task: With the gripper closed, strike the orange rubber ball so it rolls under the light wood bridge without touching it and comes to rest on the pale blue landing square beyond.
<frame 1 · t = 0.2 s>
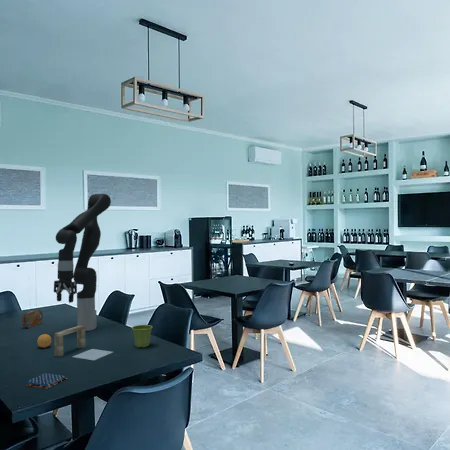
hand: (64, 301, 212), 17 cm above the table, tool pointing down, fingers open, 8 cm apart
woven mat: (46, 384, 149), on the table
bridge: (70, 351, 186), on the table
ball: (44, 340, 192), on the table
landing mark: (93, 354, 180), on the table
plant pot: (142, 346, 192), on the table
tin: (32, 326, 235), on the table
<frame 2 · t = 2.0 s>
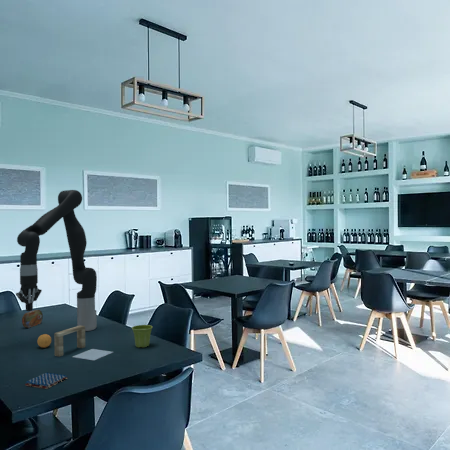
hand: (29, 311, 196), 16 cm above the table, tool pointing down, fingers closed
nothing on the table moved.
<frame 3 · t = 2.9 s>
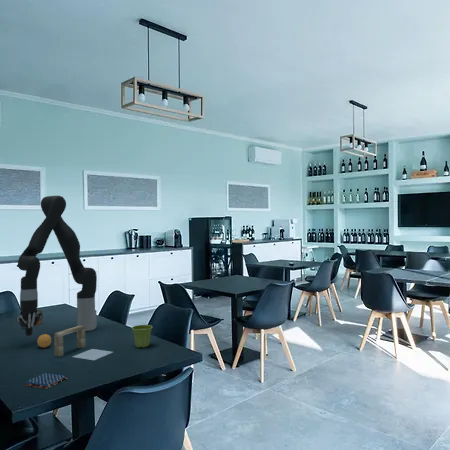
hand: (28, 335, 196), 5 cm above the table, tool pointing down, fingers closed
nothing on the table moved.
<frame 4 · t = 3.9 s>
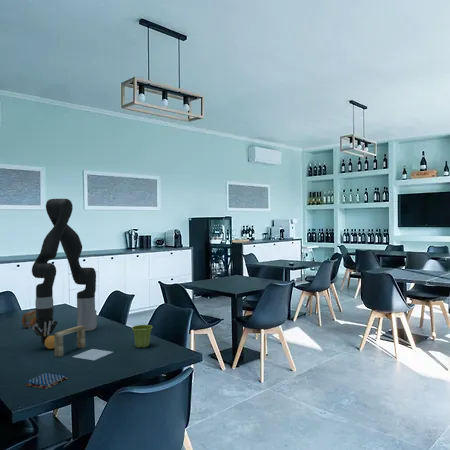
hand: (44, 344, 192), 2 cm above the table, tool pointing down, fingers closed
ball: (51, 342, 190), on the table
everything else where it was.
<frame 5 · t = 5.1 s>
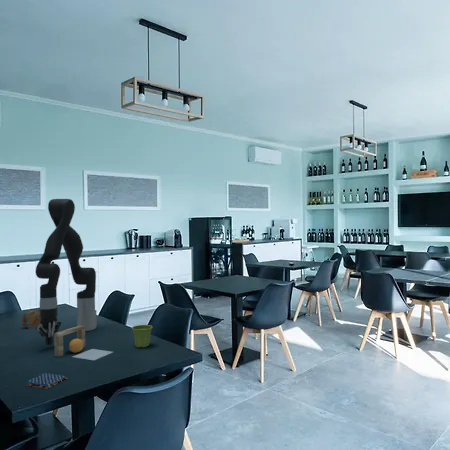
hand: (49, 344, 191), 2 cm above the table, tool pointing down, fingers closed
ball: (76, 345, 184), on the table
everything else where it was.
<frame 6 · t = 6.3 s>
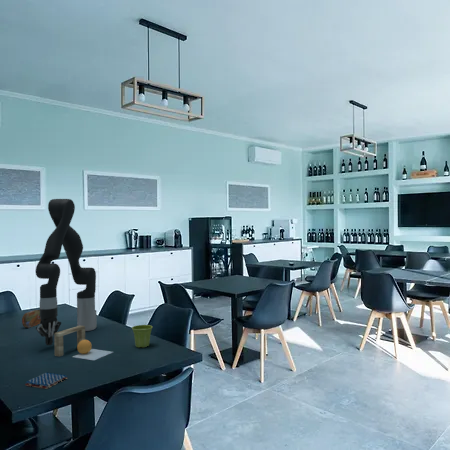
hand: (49, 344, 191), 2 cm above the table, tool pointing down, fingers closed
ball: (84, 346, 182), on the table
everything else where it was.
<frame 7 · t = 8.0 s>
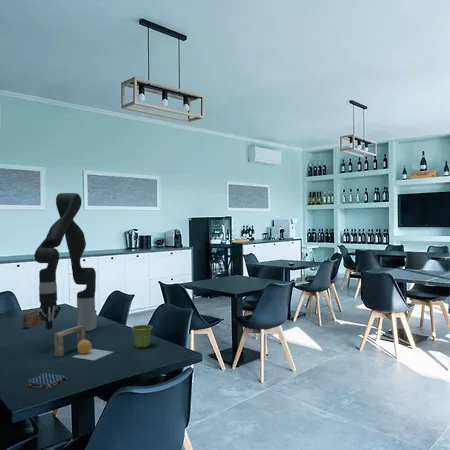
hand: (49, 329, 191), 9 cm above the table, tool pointing down, fingers closed
nothing on the table moved.
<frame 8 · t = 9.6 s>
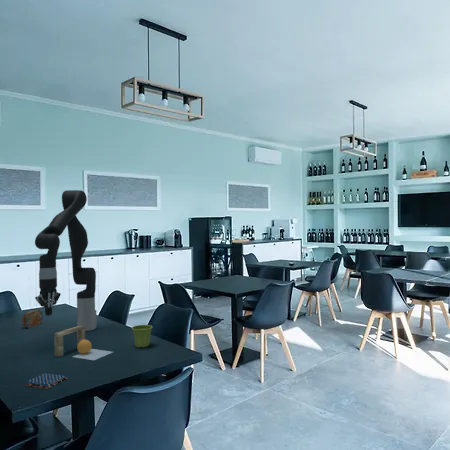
hand: (48, 315, 191), 15 cm above the table, tool pointing down, fingers closed
nothing on the table moved.
at the end: ball 4.6 cm from the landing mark (horizontally); ball never touched bridge; ball at rest at the end (0.0 cm/s) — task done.
